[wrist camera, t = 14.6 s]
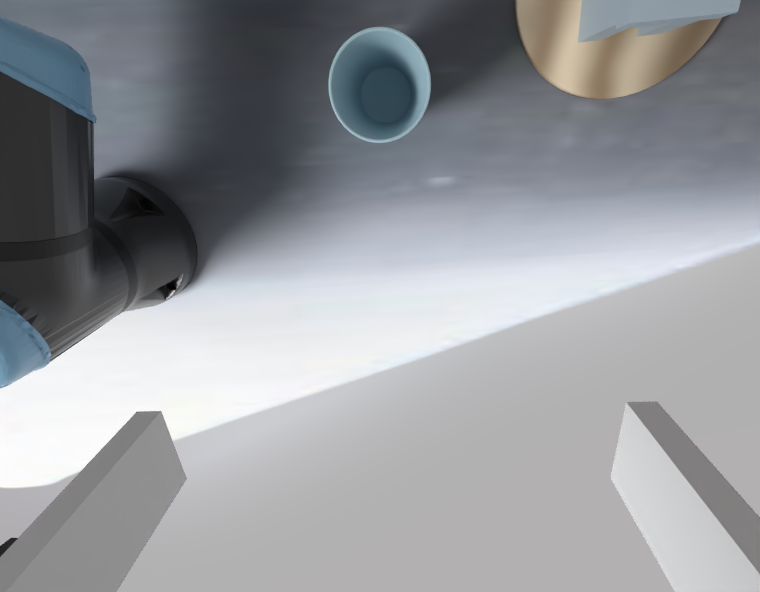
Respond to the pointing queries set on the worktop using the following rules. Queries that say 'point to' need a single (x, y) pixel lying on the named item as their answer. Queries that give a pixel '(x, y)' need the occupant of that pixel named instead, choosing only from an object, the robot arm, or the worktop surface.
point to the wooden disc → (601, 51)
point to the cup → (379, 84)
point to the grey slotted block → (646, 15)
